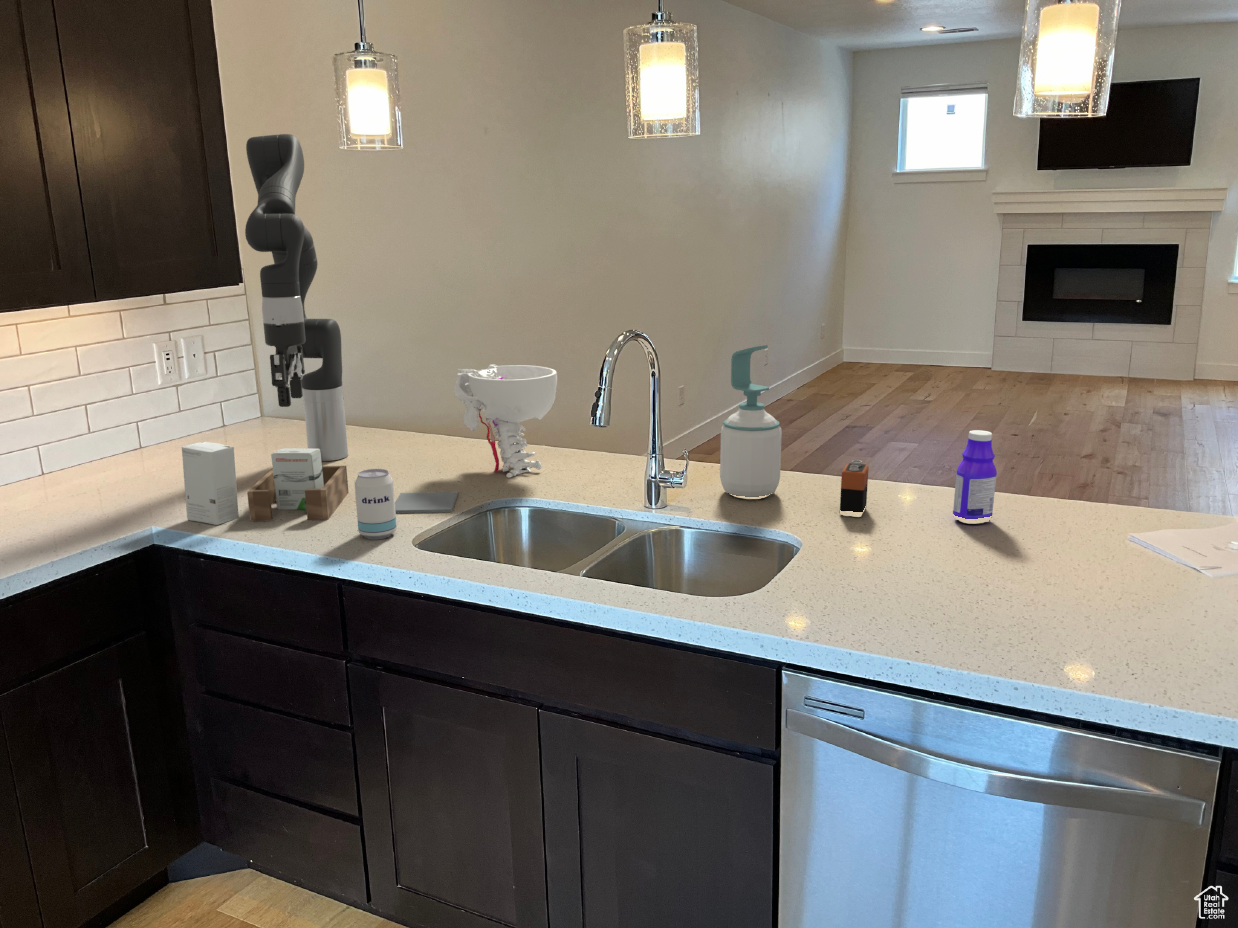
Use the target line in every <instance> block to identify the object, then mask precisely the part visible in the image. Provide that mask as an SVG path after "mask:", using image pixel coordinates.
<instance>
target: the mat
mask: <svg viewBox="0 0 1238 928" xmlns="http://www.w3.org/2000/svg"><path fill="white" fill-rule="evenodd" d="M458 496H459V492H458V491H438V492H437V491H434V492H433V491H432V492H431V491H430V492H401V493H399V495H398V496H397V498H396V500H395V511H396V514H414V513H415V514H420V513H422V514H423V513H424V514H425V513H426V514H427V513H452V511H453V509H454V507H455V504H456V501H457V498H458Z"/></svg>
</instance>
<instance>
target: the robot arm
mask: <svg viewBox="0 0 1238 928" xmlns="http://www.w3.org/2000/svg"><path fill="white" fill-rule="evenodd" d="M245 149H246V158H247V162H248V166H249V169H250V173H251V175H252V178H253V179H252V180H253V181H254V185H255V189H256V192H257V205H256V207H255V208H254V209H253V210H252V212H251V213H250V214H249V216H248V218H247V221H246V224H245V229H244V230H245V231H244V232H245V233H244V235H245V239H246V242H247V244H248V245H249V246H250V248H251V249H252V250H254V251H257V252H259V253H268V252H269V253H271V256H272V259H273V263H272V264H268V265H265V266H263V267H261V269H260V271H259V280H260V285H261V286H260V287H261V299H262V301H261V312H262V323H263V331H264V343H265V345H266V346H268V347H274V348H275V354H270V355H269V363H270V375H271V385H272V387H275V388H276V390H277V401H278V406H279V407H280V408H289V407H290V406H291V405H292V399H303V401H302V402H303V410H304V422H305V432H306V442H307V449H320V453H321V462H330V461H336V460H342V459H345V458H347V457H348V456H349V451H348V450H349V449H348V447H349V446H348V437H347V425H346V424H347V423H346V412H345V401H344V391H343V390H344V389H343V388H344V387H343V360H342V359H343V358H342V355H343V354H342V353H343V352H342V333H341V330H340V326H339V324H338V322H337V320H335V319H332V318H307V316H306V311H305V310H306V309H305V302H306V301H305V300H306V296H307V294H308V292H309V289H310V287H311V286H312V283H313V281H314V278H315V276H316V275H317V274H316V273H317V269H318V266H319V265H318V257H317V253H316V248H315V243H314V238H313V236H312V234H311V232H310V230H308V228H307V227H306V226H305V225H304V223H303V221H302V219H301V218H300V217H299V216H298V215H297V214H296V198H297V193H298V190H299V188H300V185H301V181H302V179H303V177H304V172H305V160H304V159H305V158H304V153H303V149H302V145H301V143H300V141H299V139H298V137H296V136H295V135H293V134H289V133H281V134H271V135H270V134H269V135H259V136H253V137H248V139H247V141H246V145H245ZM304 359H322V363H321V367H318V368H317V369H315V370H313V371H311V372H310V371H309V372H307V373H306V369H305V361H304ZM305 373H306V374H305Z"/></svg>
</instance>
